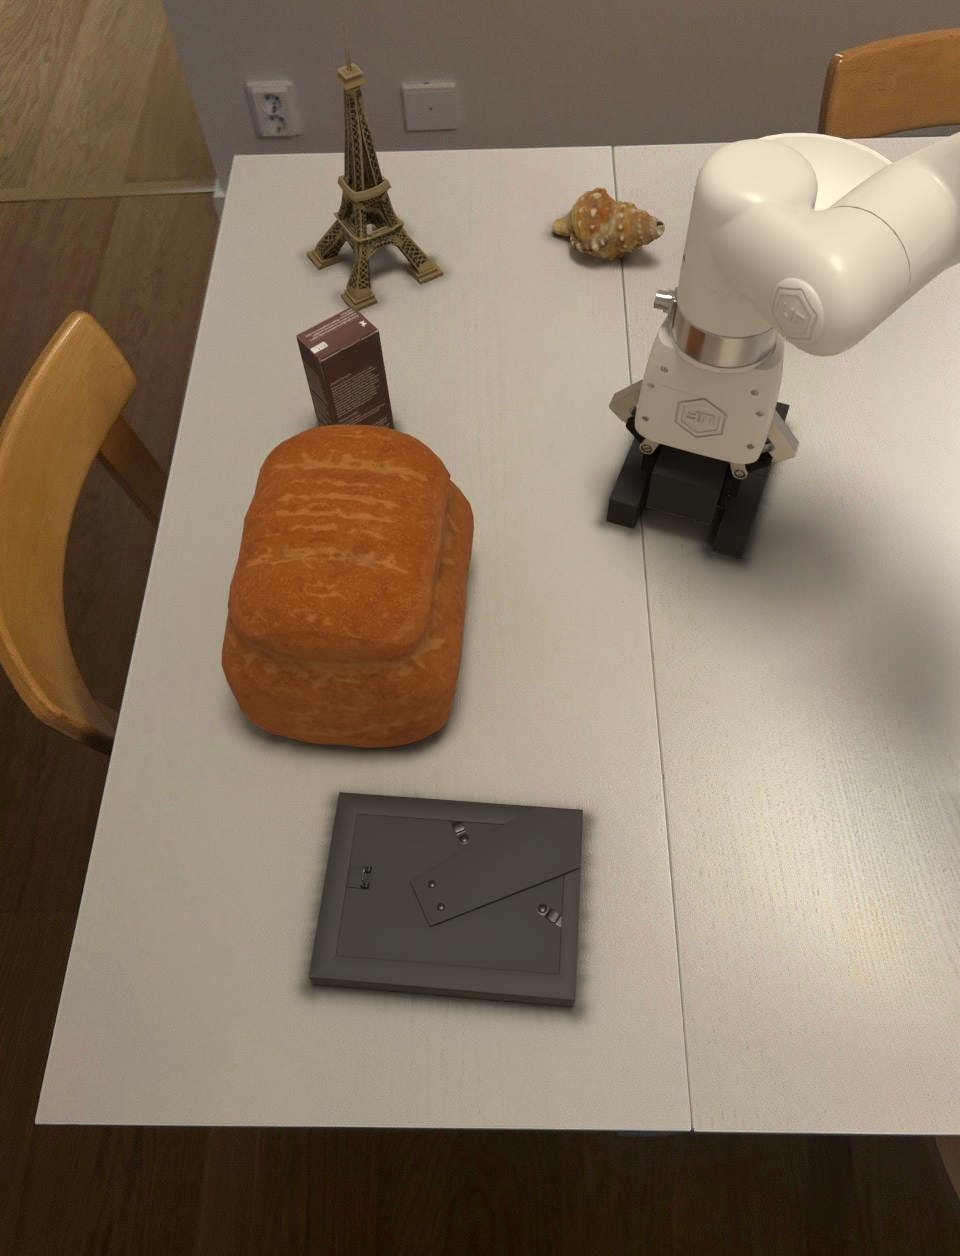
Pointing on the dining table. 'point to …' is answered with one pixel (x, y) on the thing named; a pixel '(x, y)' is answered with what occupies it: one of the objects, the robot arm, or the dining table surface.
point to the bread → (350, 590)
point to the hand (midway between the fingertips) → (688, 484)
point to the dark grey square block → (686, 484)
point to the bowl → (833, 163)
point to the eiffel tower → (364, 204)
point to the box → (346, 371)
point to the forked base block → (737, 512)
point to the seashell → (607, 226)
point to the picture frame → (451, 899)
